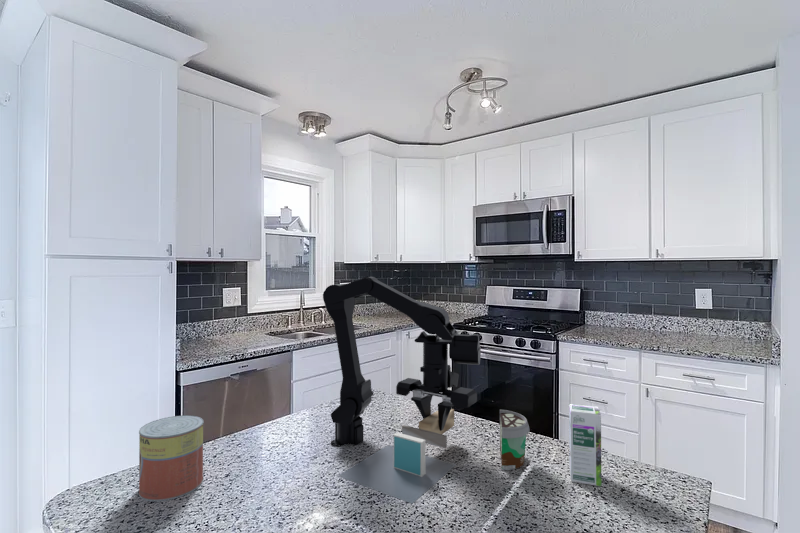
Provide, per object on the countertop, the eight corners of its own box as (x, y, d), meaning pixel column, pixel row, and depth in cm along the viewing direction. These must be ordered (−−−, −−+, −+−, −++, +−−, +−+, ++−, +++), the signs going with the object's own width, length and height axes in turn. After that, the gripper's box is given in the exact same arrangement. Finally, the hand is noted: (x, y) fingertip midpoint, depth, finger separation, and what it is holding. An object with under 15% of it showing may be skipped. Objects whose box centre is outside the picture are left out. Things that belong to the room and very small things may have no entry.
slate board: (337, 479, 84) (337, 475, 84) (388, 448, 99) (388, 444, 99) (412, 508, 74) (412, 503, 74) (456, 468, 89) (456, 464, 89)
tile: (393, 467, 88) (393, 434, 88) (397, 464, 89) (397, 432, 89) (421, 477, 84) (421, 442, 84) (425, 473, 85) (425, 439, 85)
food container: (532, 479, 85) (532, 430, 85) (501, 476, 86) (501, 428, 86) (526, 453, 97) (526, 410, 97) (499, 450, 98) (499, 408, 98)
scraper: (429, 419, 105) (429, 404, 105) (469, 429, 99) (469, 412, 99) (402, 436, 94) (402, 419, 94) (445, 448, 88) (445, 429, 88)
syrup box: (570, 482, 83) (570, 410, 84) (569, 469, 89) (569, 401, 89) (601, 487, 81) (601, 414, 82) (598, 473, 87) (598, 404, 87)
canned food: (144, 478, 85) (144, 419, 85) (204, 467, 90) (204, 412, 90) (133, 507, 75) (133, 440, 75) (202, 493, 79) (202, 431, 79)
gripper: (486, 360, 98) (486, 426, 98) (418, 351, 108) (418, 411, 108) (466, 370, 89) (466, 442, 88) (394, 359, 99) (394, 424, 99)
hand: (435, 428), depth 96 cm, fingers closed on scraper, 3 cm apart
